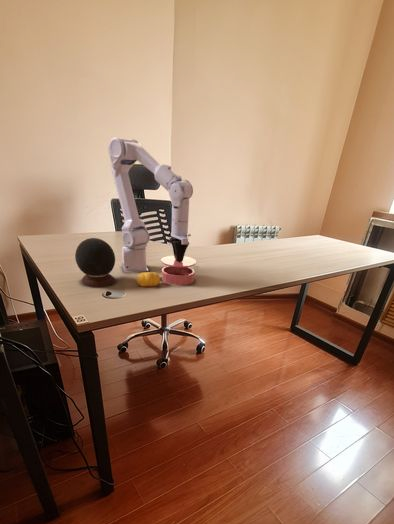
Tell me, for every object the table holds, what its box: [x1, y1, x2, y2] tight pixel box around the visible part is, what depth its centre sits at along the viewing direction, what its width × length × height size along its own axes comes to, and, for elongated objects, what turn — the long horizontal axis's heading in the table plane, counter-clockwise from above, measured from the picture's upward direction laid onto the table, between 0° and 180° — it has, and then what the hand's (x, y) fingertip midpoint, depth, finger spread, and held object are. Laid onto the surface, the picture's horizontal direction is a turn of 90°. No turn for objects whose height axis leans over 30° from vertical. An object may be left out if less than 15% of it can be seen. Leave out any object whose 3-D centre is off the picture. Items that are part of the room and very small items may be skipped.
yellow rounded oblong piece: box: [136, 271, 163, 288], centre depth 108 cm, size 9×5×5 cm, turn 108°
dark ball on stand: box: [74, 237, 116, 288], centre depth 106 cm, size 13×13×15 cm
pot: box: [161, 265, 195, 286], centre depth 115 cm, size 12×12×4 cm
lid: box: [160, 255, 197, 268], centre depth 111 cm, size 13×13×6 cm
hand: (178, 259), depth 112 cm, fingers closed on lid, 2 cm apart
